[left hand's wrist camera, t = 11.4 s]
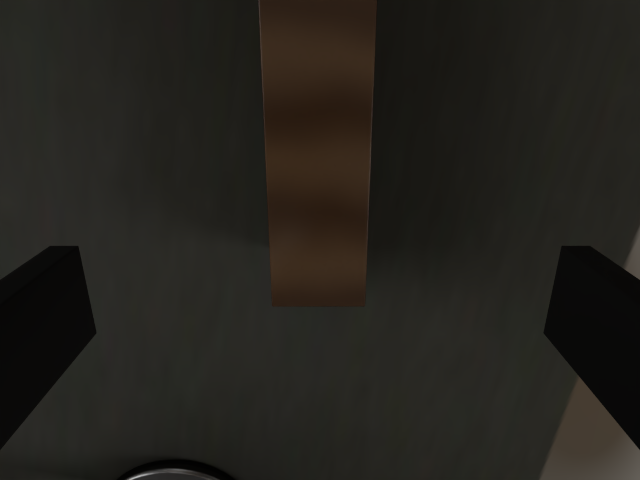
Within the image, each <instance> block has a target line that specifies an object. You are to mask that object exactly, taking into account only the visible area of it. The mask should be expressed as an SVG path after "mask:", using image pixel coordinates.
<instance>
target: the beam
mask: <svg viewBox="0 0 640 480" xmlns="http://www.w3.org/2000/svg"><path fill="white" fill-rule="evenodd" d="M258 6H259V28H260V50H261V72H262V94H263V116H264V138H265V160H266V182H267V204H268V226H269V248H270V270H271V292H272V306H365V296H366V270H367V245H368V220H369V194H370V169H371V144H372V118H373V93H374V68H375V43H376V17H377V0H258Z"/></svg>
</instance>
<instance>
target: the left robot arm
mask: <svg viewBox="0 0 640 480" xmlns="http://www.w3.org/2000/svg"><path fill="white" fill-rule="evenodd" d="M95 334H96V328H95V323H94V319H93V314H92V309H91V304H90V300H89V295H88V290H87V285H86V280H85V276H84V271H83V266H82V261H81V257H80V252H79V247H78V246H49V247H48V248H46V249H45V250H43V251H42V252H41V253H39V254H38V255H36V256H35V257H33V258H32V259H30V260H29V261H27V262H26V263H24V264H23V265H21V266H20V267H19V268H17V269H16V270H14V271H13V272H11V273H10V274H8V275H7V276H5V277H4V278H2V279H1V280H0V449H1V448H2V447H3V446H4V445H5V443H6V442H7V441H8V440H9V439H10V437H11V436H12V435H13V434H14V432H15V431H16V430H17V429H18V428H19V426H20V425H21V424H22V423H23V422H24V420H25V419H26V418H27V417H28V415H29V414H30V413H31V412H32V411H33V409H34V408H35V407H36V406H37V405H38V403H39V402H40V401H41V400H42V398H43V397H44V396H45V395H46V394H47V392H48V391H49V390H50V389H51V388H52V386H53V385H54V384H55V383H56V381H57V380H58V379H59V378H60V377H61V375H62V374H63V373H64V372H65V371H66V369H67V368H68V367H69V366H70V365H71V363H72V362H73V361H74V360H75V358H76V357H77V356H78V355H79V354H80V352H81V351H82V350H83V349H84V348H85V346H86V345H87V344H88V343H89V341H90V340H91V339H92V338H93V337H94V335H95ZM544 334H545V335H546V337H547V338H548V339H549V340H550V341H551V343H552V344H553V345H554V346H555V348H556V349H557V350H558V351H559V352H560V354H561V355H562V356H563V357H564V358H565V360H566V361H567V362H568V363H569V365H570V366H571V367H572V368H573V369H574V371H575V372H576V373H577V374H578V375H579V377H580V378H581V379H582V380H583V381H584V383H585V384H586V385H587V386H588V388H589V389H590V390H591V391H592V392H593V394H594V395H595V396H596V397H597V398H598V400H599V401H600V402H601V403H602V405H603V406H604V407H605V408H606V409H607V411H608V412H609V413H610V414H611V415H612V417H613V418H614V419H615V420H616V421H617V423H618V424H619V425H620V426H621V428H622V429H623V430H624V431H625V432H626V434H627V435H628V436H629V437H630V439H631V440H632V441H633V442H634V443H635V445H636V446H637V447H638V448H639V449H640V280H639V279H638V278H636V277H635V276H633V275H632V274H630V273H629V272H627V271H626V270H624V269H623V268H621V267H620V266H619V265H617V264H616V263H614V262H613V261H611V260H610V259H608V258H607V257H605V256H604V255H602V254H601V253H599V252H598V251H597V250H595V249H594V248H592V247H591V246H562V247H561V252H560V257H559V261H558V266H557V271H556V276H555V280H554V285H553V290H552V295H551V300H550V304H549V309H548V314H547V319H546V323H545V328H544ZM117 480H234V479H233V478H231V477H230V476H228V475H227V474H225V473H223V472H221V471H219V470H217V469H214V468H212V467H209V466H206V465H202V464H199V463H194V462H188V461H177V460H169V461H158V462H152V463H148V464H144V465H141V466H138V467H136V468H134V469H132V470H130V471H128V472H126V473H125V474H123V475H122V476H121V477H119V478H118V479H117Z"/></svg>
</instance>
